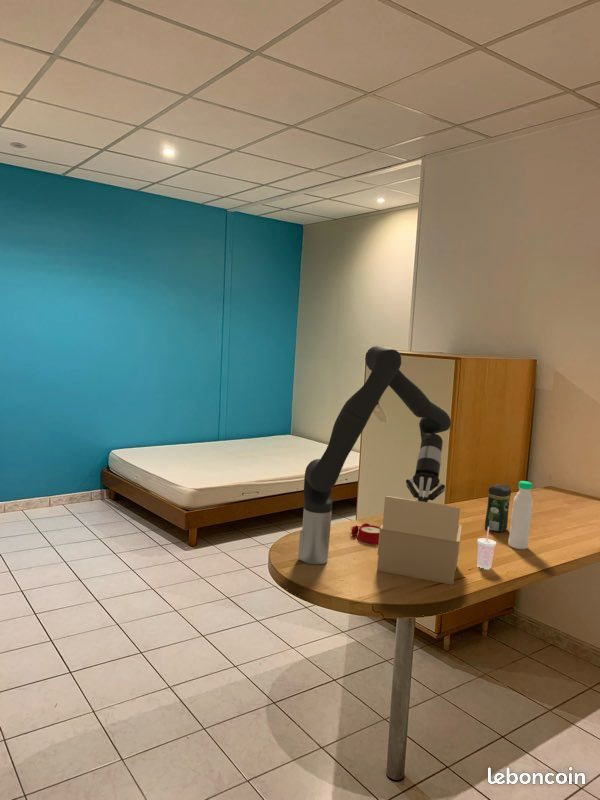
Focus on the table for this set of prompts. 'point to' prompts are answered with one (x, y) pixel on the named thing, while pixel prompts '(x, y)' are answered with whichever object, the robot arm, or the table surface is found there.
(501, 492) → the coffee jar
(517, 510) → the water bottle
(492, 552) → the beverage cup
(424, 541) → the carton
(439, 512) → the carton flap
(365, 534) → the alarm clock
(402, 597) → the table surface
